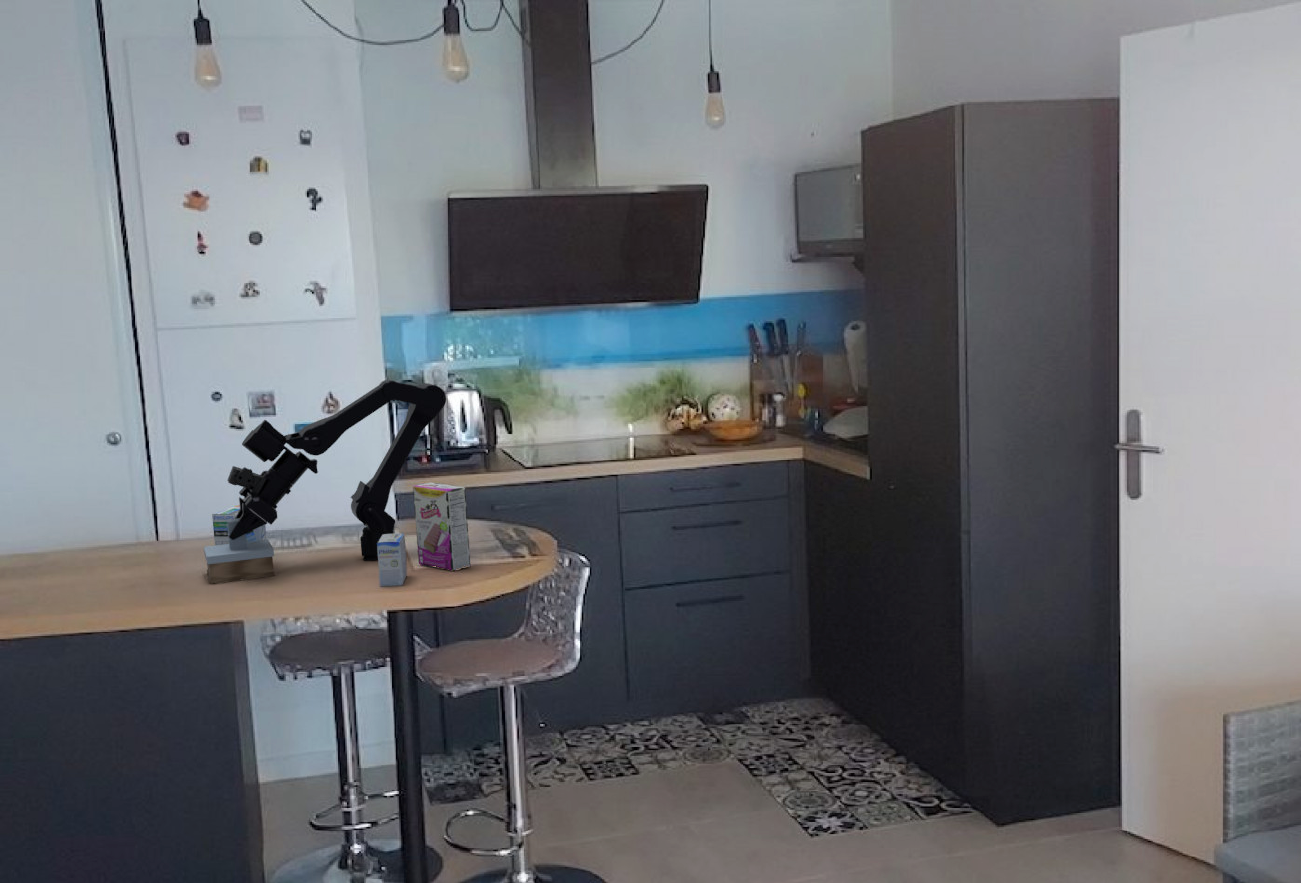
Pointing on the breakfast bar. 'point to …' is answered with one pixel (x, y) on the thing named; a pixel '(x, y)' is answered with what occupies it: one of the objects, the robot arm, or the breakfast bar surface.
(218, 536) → the light bulb box
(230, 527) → the lid
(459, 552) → the candy bar box
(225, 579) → the walnut box
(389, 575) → the medicine box
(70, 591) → the breakfast bar surface
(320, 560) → the breakfast bar surface
